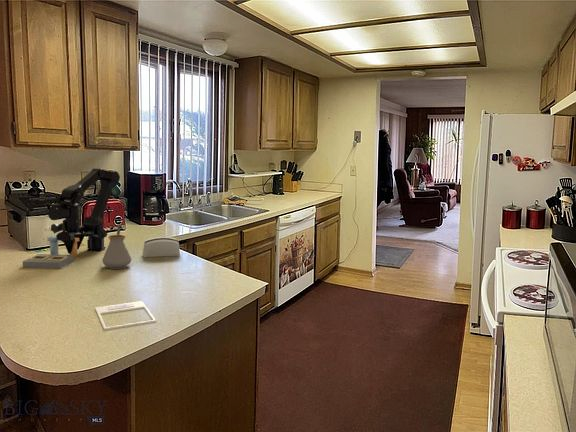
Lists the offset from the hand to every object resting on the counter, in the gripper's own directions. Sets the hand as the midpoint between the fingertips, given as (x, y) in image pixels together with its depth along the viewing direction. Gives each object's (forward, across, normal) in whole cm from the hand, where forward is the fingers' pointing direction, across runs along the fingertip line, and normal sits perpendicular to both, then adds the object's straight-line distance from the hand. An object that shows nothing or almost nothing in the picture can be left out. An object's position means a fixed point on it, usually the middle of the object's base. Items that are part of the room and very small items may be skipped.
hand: (73, 251), depth 208 cm
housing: (+2, +14, -4) cm, 15 cm away
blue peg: (+2, -1, -9) cm, 9 cm away
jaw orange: (+2, 0, 0) cm, 2 cm away
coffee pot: (+2, +9, +23) cm, 25 cm away
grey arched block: (+2, -7, +37) cm, 38 cm away
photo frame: (+3, +66, +45) cm, 80 cm away
